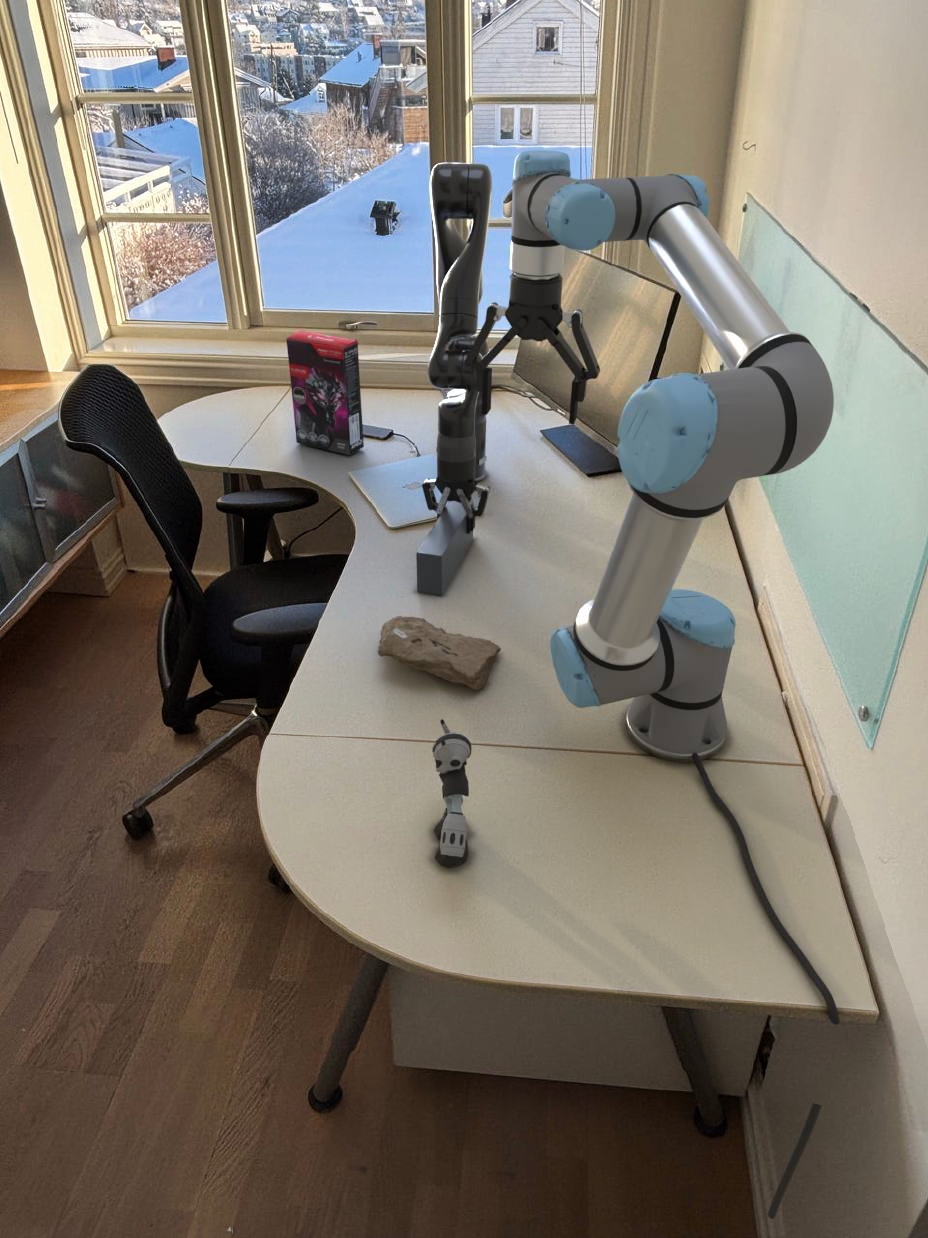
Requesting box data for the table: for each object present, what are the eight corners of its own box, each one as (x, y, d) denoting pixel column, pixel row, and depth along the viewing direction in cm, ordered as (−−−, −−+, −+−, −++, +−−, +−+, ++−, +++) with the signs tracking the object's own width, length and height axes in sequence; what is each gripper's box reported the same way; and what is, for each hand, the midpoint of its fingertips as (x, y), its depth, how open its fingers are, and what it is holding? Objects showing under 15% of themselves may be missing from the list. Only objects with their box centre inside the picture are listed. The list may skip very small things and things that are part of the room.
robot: (474, 902, 115) (476, 785, 104) (435, 903, 115) (433, 787, 104) (466, 791, 132) (467, 679, 120) (432, 792, 131) (430, 680, 120)
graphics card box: (294, 443, 234) (283, 336, 218) (310, 434, 239) (300, 328, 224) (350, 457, 227) (343, 347, 212) (366, 447, 232) (360, 339, 217)
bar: (442, 595, 175) (441, 556, 170) (417, 592, 176) (416, 552, 171) (473, 538, 194) (473, 501, 189) (450, 535, 195) (450, 498, 190)
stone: (354, 663, 151) (360, 631, 149) (385, 632, 165) (392, 602, 162) (474, 706, 148) (483, 673, 145) (496, 671, 161) (504, 640, 159)
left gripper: (496, 449, 180) (494, 526, 190) (426, 441, 183) (427, 517, 193) (487, 464, 174) (485, 543, 184) (415, 456, 177) (416, 534, 187)
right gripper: (627, 273, 131) (613, 415, 143) (458, 260, 136) (458, 399, 148) (621, 286, 125) (606, 434, 137) (444, 272, 130) (444, 416, 142)
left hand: (456, 529), depth 188 cm, fingers closed on bar, 5 cm apart
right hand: (529, 416), depth 142 cm, fingers open, 13 cm apart
